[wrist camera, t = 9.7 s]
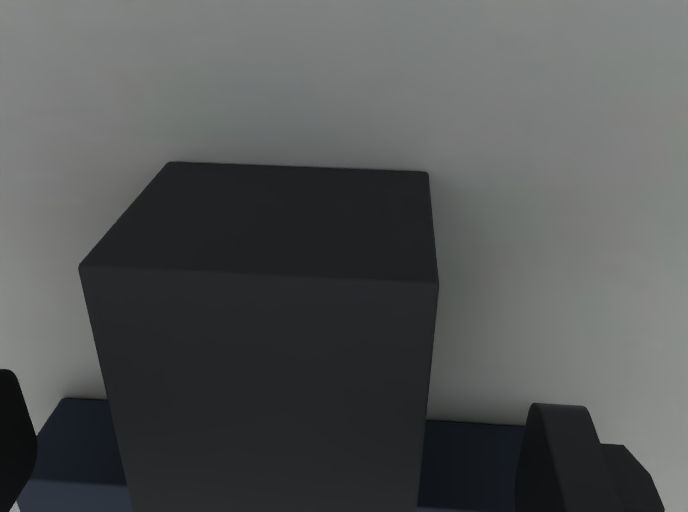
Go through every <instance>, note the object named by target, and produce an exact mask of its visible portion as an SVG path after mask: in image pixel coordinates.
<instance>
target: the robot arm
mask: <svg viewBox="0 0 688 512" xmlns="http://www.w3.org/2000/svg"><path fill="white" fill-rule="evenodd" d="M37 451H38V444H37V438H36V434H35V431H34V428H33V425H32V422H31V419H30V416H29V413H28V410H27V406H26V403H25V400H24V397H23V394H22V391H21V388H20V385H19V382H18V379H17V377H16V375H15V374H14V373H13V372H12V371H10V370H8V369H0V512H9V511H10V509H11V508H12V506H13V504H14V503H15V501H16V500H17V498H18V496H19V495H20V493H21V492H22V490H23V488H24V487H25V485H26V484H27V482H28V480H29V479H30V477H31V475H32V472H33V470H34V467H35V463H36V459H37ZM514 494H515V510H516V512H664V511H665V508H664V506H663V504H662V501H661V499H660V496H659V494H658V492H657V489H656V487H655V485H654V482H653V480H652V477H651V475H650V474H649V473H648V472H647V471H646V469H645V468H644V467H643V466H642V465H641V464H640V463H639V462H638V461H637V459H636V458H635V457H634V456H633V455H632V454H631V453H630V452H629V451H628V450H627V448H626V447H625V446H624V445H616V444H601V443H600V441H599V439H598V436H597V433H596V430H595V427H594V425H593V422H592V419H591V416H590V414H589V412H588V410H587V408H586V407H584V406H576V405H559V404H543V403H533V404H532V405H531V406H530V409H529V412H528V417H527V422H526V426H525V431H524V436H523V441H522V445H521V450H520V455H519V460H518V464H517V469H516V475H515V489H514Z"/></svg>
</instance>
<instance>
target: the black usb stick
mask: <svg viewBox="0 0 688 512" xmlns="http://www.w3.org/2000/svg"><path fill="white" fill-rule="evenodd" d="M78 270H79V275H80V279H81V283H82V288H83V292H84V297H85V301H86V305H87V310H88V314H89V319H90V323H91V327H92V332H93V336H94V341H95V345H96V350H97V354H98V358H99V363H100V367H101V372H102V376H103V380H104V385H105V389H106V394H107V398H108V402H109V407H110V411H111V416H112V420H113V424H114V429H115V433H116V438H117V442H118V447H119V451H120V455H121V460H122V464H123V469H124V473H125V477H126V482H127V486H128V491H129V495H130V499H131V504H132V508H133V512H417V502H418V492H419V482H420V472H421V462H422V452H423V442H424V432H425V422H426V412H427V402H428V392H429V382H430V372H431V362H432V352H433V342H434V332H435V322H436V312H437V302H438V292H439V279H438V268H437V258H436V248H435V238H434V228H433V218H432V208H431V197H430V187H429V177H428V173H426V172H409V171H383V170H358V169H333V168H307V167H282V166H256V165H231V164H206V163H180V162H168V163H167V164H166V165H165V166H164V167H163V168H162V170H161V171H160V172H159V173H158V174H157V175H156V177H155V178H154V179H153V180H152V181H151V182H150V183H149V185H148V186H147V187H146V188H145V189H144V190H143V192H142V193H141V194H140V195H139V196H138V197H137V198H136V200H135V201H134V202H133V203H132V204H131V205H130V207H129V208H128V209H127V210H126V211H125V212H124V213H123V215H122V216H121V217H120V218H119V219H118V220H117V222H116V223H115V224H114V225H113V226H112V227H111V228H110V230H109V231H108V232H107V233H106V234H105V235H104V237H103V238H102V239H101V240H100V241H99V242H98V243H97V245H96V246H95V247H94V248H93V249H92V250H91V252H90V253H89V254H88V255H87V256H86V257H85V258H84V260H83V261H82V262H81V263H80V264H79V267H78Z"/></svg>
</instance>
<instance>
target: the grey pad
mask: <svg viewBox="0 0 688 512" xmlns="http://www.w3.org/2000/svg"><path fill="white" fill-rule="evenodd" d="M524 431H525V427H518V426H502V425H486V424H470V423H454V422H438V421H426V422H425V432H424V442H423V452H422V462H421V472H420V482H419V492H418V502H417V512H516V510H515V494H514V489H515V475H516V469H517V464H518V460H519V455H520V450H521V445H522V441H523V436H524ZM36 438H37V444H38V451H37V459H36V463H35V467H34V470H33V472H32V475H31V477H30V479H29V480H28V482H27V484H26V485H25V487H24V488H23V490H22V492H21V493H20V495H19V496H18V498H17V500H16V501H17V504H18V506H19V509H20V512H133V508H132V504H131V499H130V495H129V491H128V486H127V482H126V477H125V473H124V469H123V464H122V460H121V455H120V451H119V447H118V442H117V438H116V433H115V429H114V424H113V420H112V416H111V411H110V407H109V402H108V401H99V400H83V399H67V398H63V399H61V401H60V402H59V404H58V405H57V407H56V408H55V410H54V411H53V413H52V414H51V416H50V417H49V419H48V420H47V422H46V423H45V424H44V426H43V427H42V429H41V430H40V432H39V433H38V435H37V436H36Z"/></svg>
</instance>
